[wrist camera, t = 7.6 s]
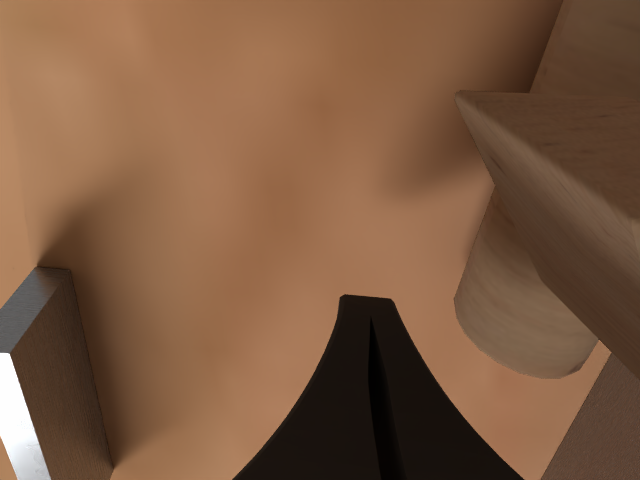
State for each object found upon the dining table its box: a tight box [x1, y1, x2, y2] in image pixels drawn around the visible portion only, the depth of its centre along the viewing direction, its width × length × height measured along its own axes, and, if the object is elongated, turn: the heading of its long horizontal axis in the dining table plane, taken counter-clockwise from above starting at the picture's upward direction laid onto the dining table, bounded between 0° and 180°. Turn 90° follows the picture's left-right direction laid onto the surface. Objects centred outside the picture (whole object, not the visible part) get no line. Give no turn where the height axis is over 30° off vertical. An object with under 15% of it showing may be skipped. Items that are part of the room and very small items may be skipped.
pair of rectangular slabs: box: [0, 267, 640, 480], centre depth 20 cm, size 22×12×4 cm, turn 85°
